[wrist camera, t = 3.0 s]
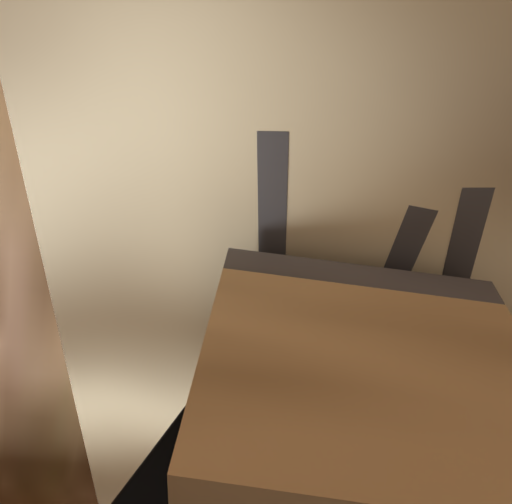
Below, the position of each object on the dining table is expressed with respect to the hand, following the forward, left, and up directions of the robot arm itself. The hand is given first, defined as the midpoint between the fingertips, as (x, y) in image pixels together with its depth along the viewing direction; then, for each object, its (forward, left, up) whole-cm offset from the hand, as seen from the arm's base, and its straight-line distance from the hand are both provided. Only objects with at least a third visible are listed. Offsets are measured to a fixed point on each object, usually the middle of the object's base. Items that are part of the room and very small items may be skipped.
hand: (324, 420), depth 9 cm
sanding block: (0, 0, -1) cm, 1 cm away
